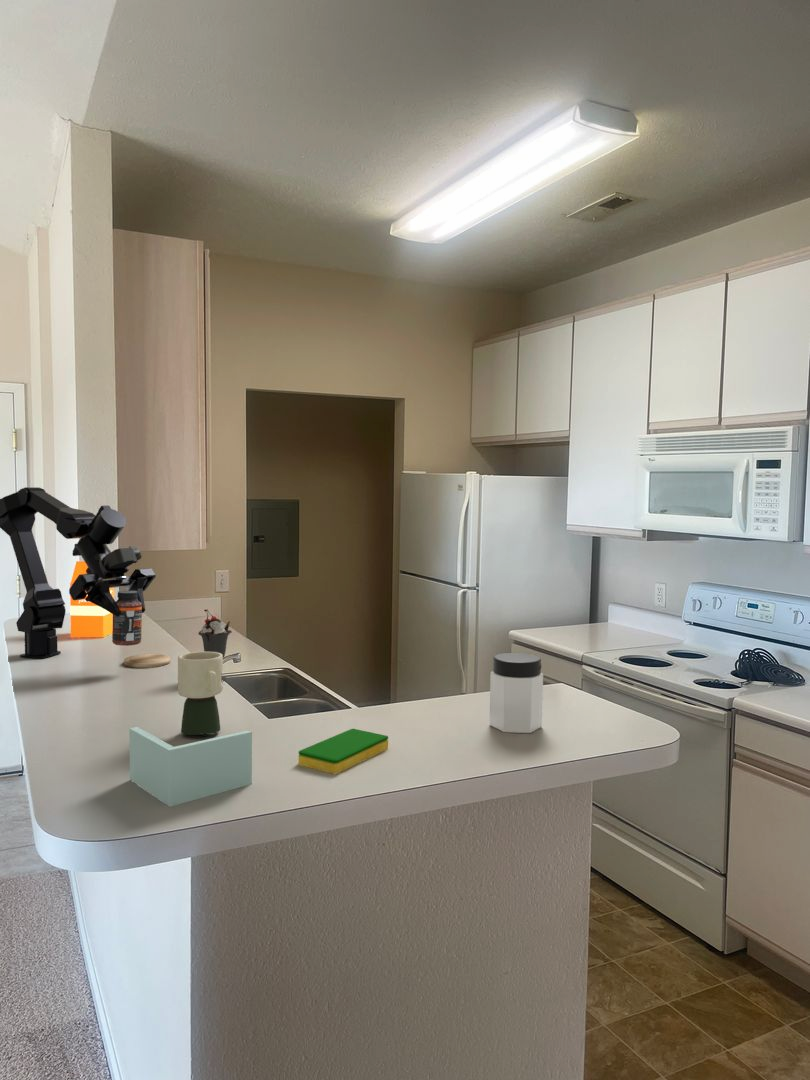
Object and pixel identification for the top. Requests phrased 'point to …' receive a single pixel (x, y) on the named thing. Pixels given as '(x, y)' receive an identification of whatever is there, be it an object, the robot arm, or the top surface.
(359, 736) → the dish sponge
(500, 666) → the jar
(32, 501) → the robot arm
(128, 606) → the supplement bottle
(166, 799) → the l-shaped corner panel
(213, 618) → the sundae
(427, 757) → the top surface
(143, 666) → the plate
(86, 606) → the orange juice
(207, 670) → the character mug
